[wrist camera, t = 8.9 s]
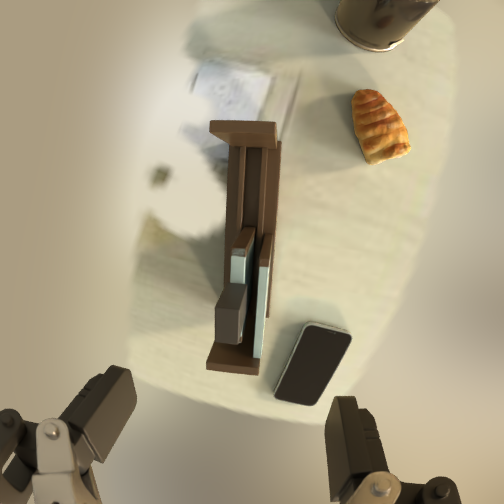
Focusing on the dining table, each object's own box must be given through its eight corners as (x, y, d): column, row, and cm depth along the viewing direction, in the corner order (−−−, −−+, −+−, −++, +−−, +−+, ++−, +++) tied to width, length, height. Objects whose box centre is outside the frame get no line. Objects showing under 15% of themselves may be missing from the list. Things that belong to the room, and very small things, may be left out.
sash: (257, 227, 34) (241, 267, 19) (253, 300, 36) (237, 376, 22) (242, 226, 34) (214, 265, 19) (239, 298, 36) (214, 373, 22)
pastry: (335, 100, 31) (342, 91, 27) (380, 86, 29) (391, 77, 26) (366, 169, 32) (376, 168, 29) (409, 152, 31) (423, 151, 28)
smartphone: (271, 398, 41) (305, 322, 37) (271, 394, 42) (305, 319, 38) (314, 407, 41) (355, 334, 37) (314, 403, 42) (353, 331, 38)
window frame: (281, 142, 33) (283, 122, 20) (269, 313, 38) (263, 376, 25) (231, 140, 33) (203, 120, 20) (225, 309, 39) (201, 369, 26)
